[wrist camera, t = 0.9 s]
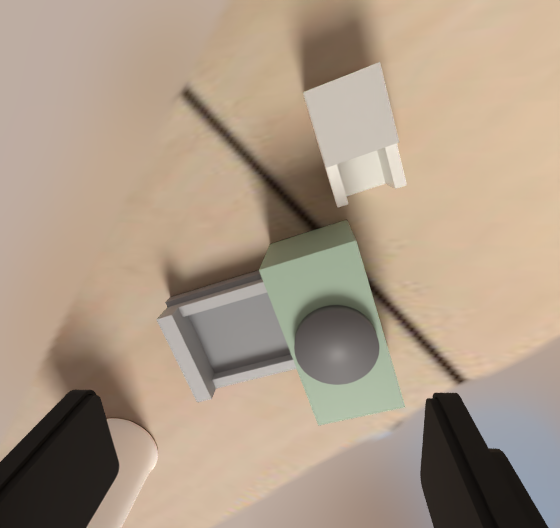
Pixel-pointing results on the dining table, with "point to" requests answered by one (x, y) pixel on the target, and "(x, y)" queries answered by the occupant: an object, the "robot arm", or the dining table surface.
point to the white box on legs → (356, 133)
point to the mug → (126, 472)
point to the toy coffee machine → (290, 328)
